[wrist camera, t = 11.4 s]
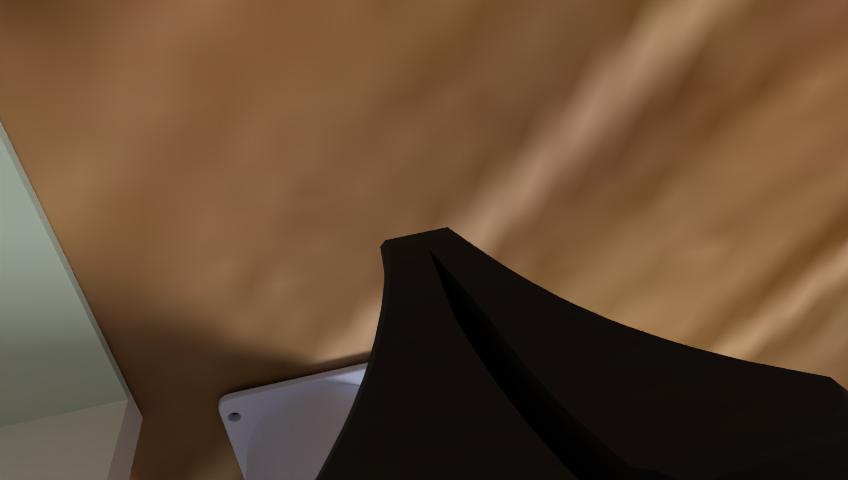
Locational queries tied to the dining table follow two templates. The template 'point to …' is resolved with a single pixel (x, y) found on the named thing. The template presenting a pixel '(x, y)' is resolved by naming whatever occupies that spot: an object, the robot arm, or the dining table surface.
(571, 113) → the dining table surface
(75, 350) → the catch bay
